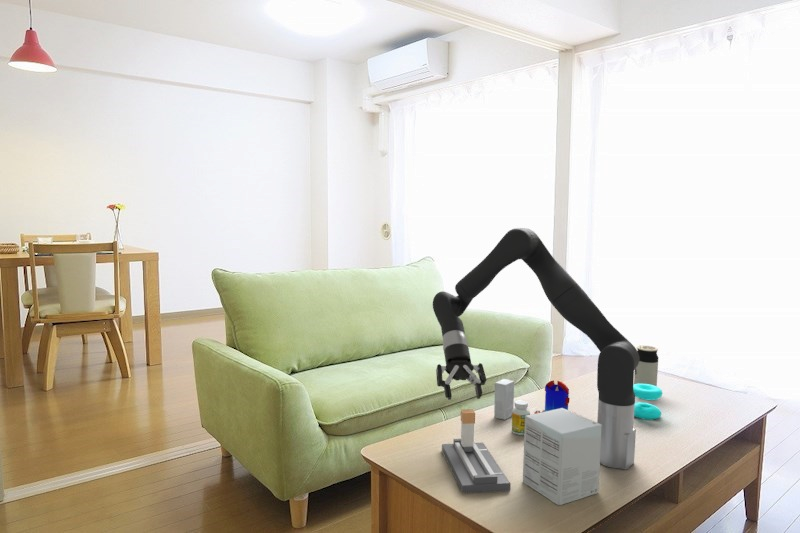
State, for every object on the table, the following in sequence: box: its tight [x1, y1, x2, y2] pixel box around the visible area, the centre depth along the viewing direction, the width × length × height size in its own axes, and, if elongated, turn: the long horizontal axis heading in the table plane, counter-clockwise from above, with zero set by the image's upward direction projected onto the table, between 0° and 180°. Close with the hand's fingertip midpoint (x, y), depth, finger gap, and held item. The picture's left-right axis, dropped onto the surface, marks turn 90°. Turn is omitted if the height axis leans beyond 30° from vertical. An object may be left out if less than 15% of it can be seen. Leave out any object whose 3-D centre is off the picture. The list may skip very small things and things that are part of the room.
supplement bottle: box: [511, 399, 531, 436], centre depth 169 cm, size 5×5×10 cm
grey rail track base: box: [441, 438, 511, 494], centre depth 144 cm, size 24×12×4 cm, turn 7°
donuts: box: [633, 383, 663, 421], centre depth 185 cm, size 10×10×10 cm
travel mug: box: [633, 345, 659, 387], centre depth 208 cm, size 8×8×18 cm
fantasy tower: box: [533, 380, 570, 414], centre depth 185 cm, size 12×12×12 cm
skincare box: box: [493, 378, 515, 421], centre depth 182 cm, size 6×4×12 cm
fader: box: [460, 408, 476, 452], centre depth 150 cm, size 3×3×11 cm
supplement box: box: [522, 408, 602, 506], centre depth 134 cm, size 13×13×18 cm
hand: (464, 398), depth 155 cm, fingers open, 8 cm apart
